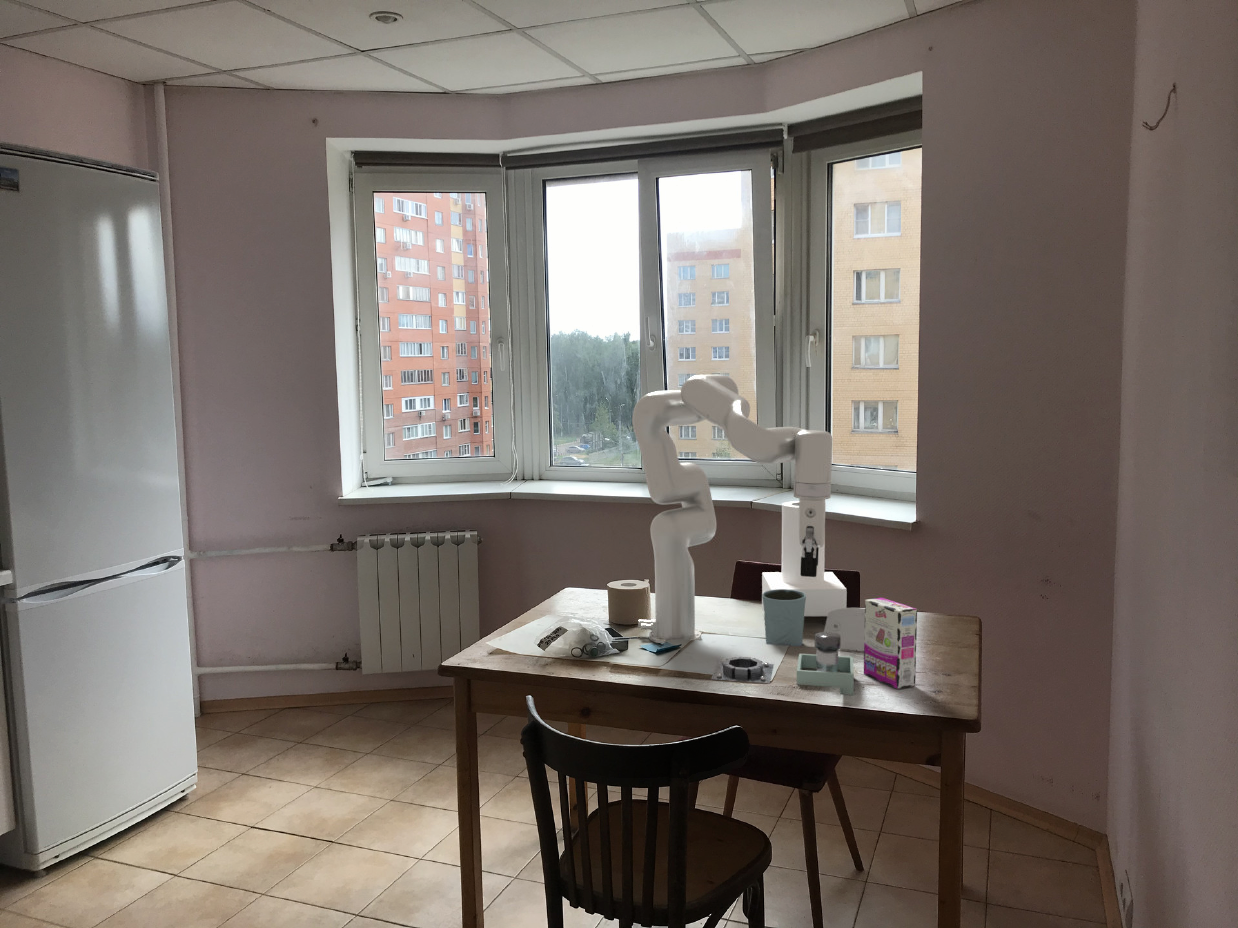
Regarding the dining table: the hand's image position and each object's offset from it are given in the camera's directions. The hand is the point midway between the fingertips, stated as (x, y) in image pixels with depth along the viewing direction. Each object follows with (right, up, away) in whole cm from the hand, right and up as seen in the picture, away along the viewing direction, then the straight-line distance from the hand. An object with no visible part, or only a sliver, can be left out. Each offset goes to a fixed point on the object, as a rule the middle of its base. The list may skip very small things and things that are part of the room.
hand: (809, 570), depth 194 cm
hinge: (+17, -21, +23) cm, 35 cm away
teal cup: (-1, -21, +26) cm, 33 cm away
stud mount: (-14, -23, +2) cm, 27 cm away
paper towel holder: (+8, -18, +47) cm, 51 cm away
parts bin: (+3, -23, -2) cm, 24 cm away
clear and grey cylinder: (+3, -22, -2) cm, 23 cm away
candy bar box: (+17, -23, 0) cm, 29 cm away
